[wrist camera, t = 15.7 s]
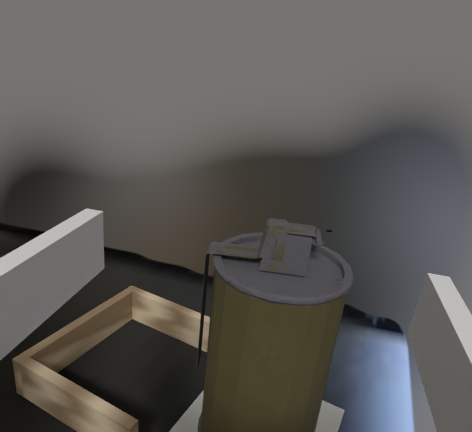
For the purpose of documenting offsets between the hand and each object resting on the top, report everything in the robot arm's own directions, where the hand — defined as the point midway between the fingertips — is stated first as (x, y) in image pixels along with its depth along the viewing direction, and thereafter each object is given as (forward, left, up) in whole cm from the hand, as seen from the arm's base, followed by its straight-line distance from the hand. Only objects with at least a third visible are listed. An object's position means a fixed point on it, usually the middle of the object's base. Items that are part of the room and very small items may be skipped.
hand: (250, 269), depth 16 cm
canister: (-3, +12, -23) cm, 26 cm away
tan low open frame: (-17, +12, -23) cm, 31 cm away
